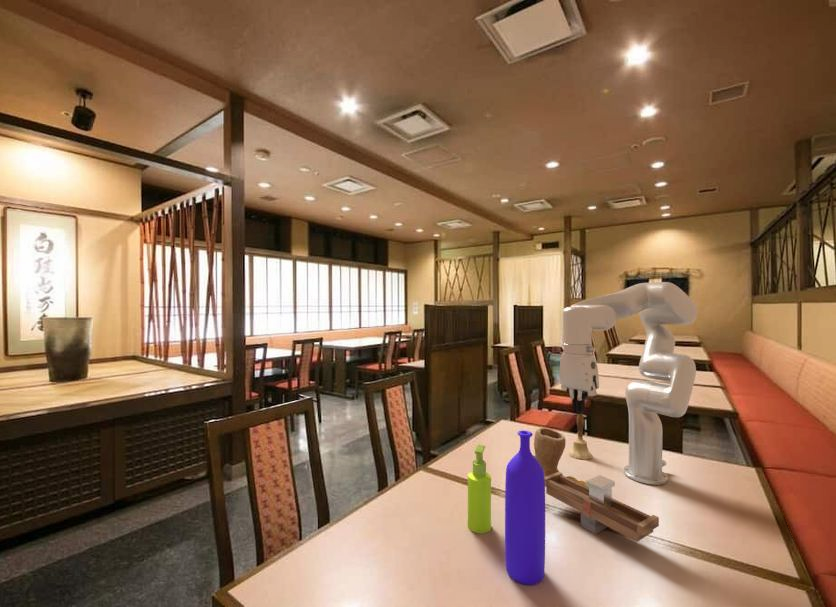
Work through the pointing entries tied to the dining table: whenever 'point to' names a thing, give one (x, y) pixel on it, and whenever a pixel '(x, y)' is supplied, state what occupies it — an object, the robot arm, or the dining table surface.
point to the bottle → (525, 516)
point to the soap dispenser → (479, 495)
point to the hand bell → (580, 442)
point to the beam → (600, 509)
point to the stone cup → (548, 449)
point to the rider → (601, 490)
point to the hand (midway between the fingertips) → (578, 412)
